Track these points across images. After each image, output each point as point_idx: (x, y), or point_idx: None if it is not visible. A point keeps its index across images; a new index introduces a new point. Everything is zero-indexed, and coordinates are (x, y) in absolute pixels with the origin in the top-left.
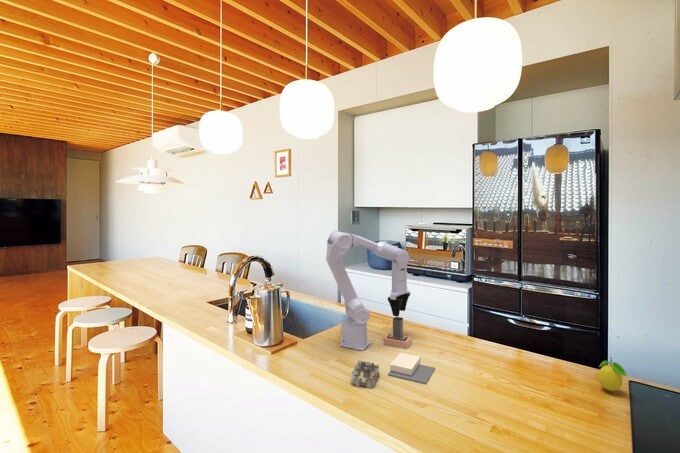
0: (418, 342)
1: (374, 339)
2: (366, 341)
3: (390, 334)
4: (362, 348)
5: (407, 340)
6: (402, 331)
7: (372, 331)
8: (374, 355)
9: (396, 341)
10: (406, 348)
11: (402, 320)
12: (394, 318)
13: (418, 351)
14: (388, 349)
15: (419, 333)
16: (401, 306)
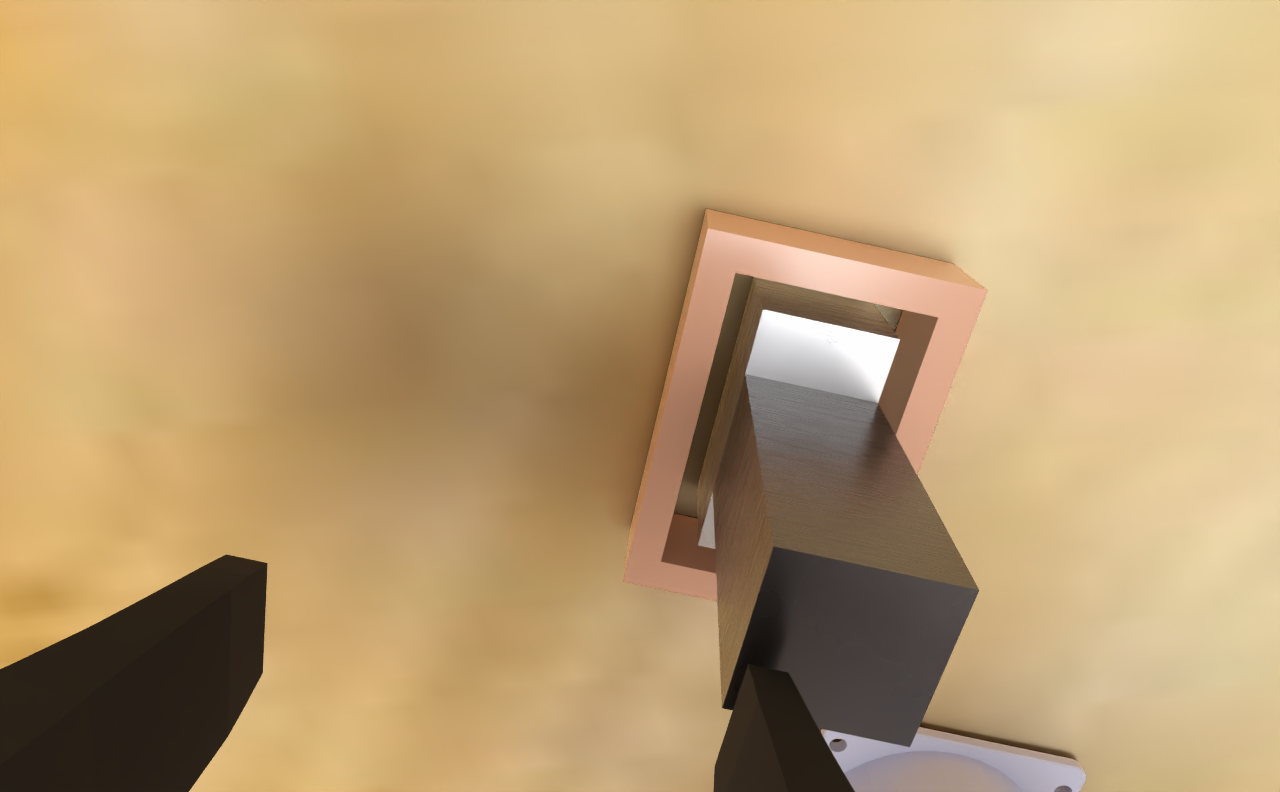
0: (640, 93)
1: (690, 685)
2: (956, 789)
3: (661, 551)
4: (1057, 777)
5: (888, 280)
6: (775, 412)
7: (432, 735)
8: (1197, 627)
9: (923, 442)
10: (951, 264)
11: (807, 525)
12: (860, 718)
13: (1014, 65)
14: (990, 496)
15: (239, 105)
16: (197, 713)
